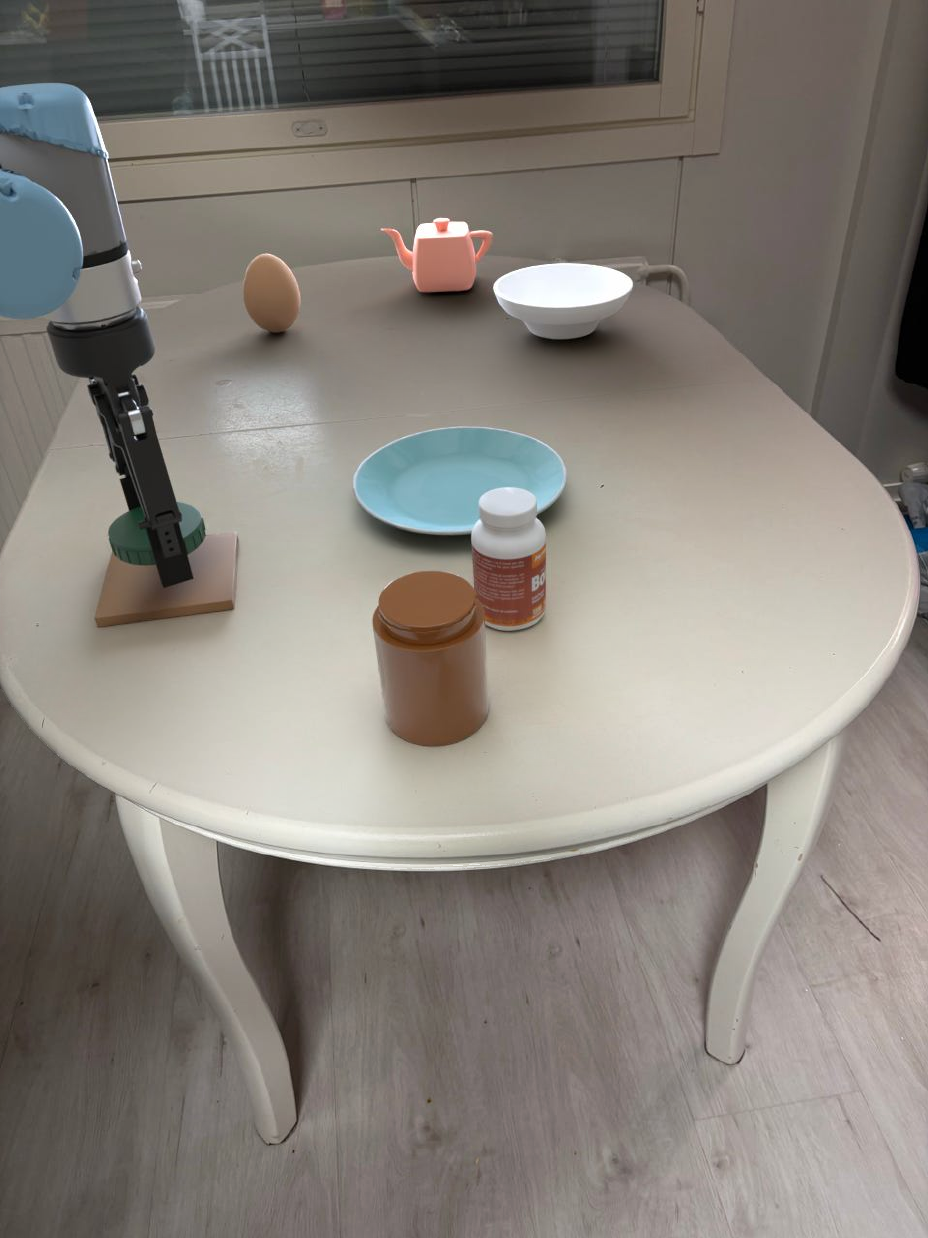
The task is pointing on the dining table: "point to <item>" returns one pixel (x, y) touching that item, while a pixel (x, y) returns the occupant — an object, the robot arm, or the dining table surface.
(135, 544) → the jar lid
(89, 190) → the robot arm
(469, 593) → the jam jar
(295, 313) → the egg
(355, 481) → the plate
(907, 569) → the dining table surface
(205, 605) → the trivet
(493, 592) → the pill bottle
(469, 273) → the teapot
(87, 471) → the dining table surface
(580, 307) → the bowl
